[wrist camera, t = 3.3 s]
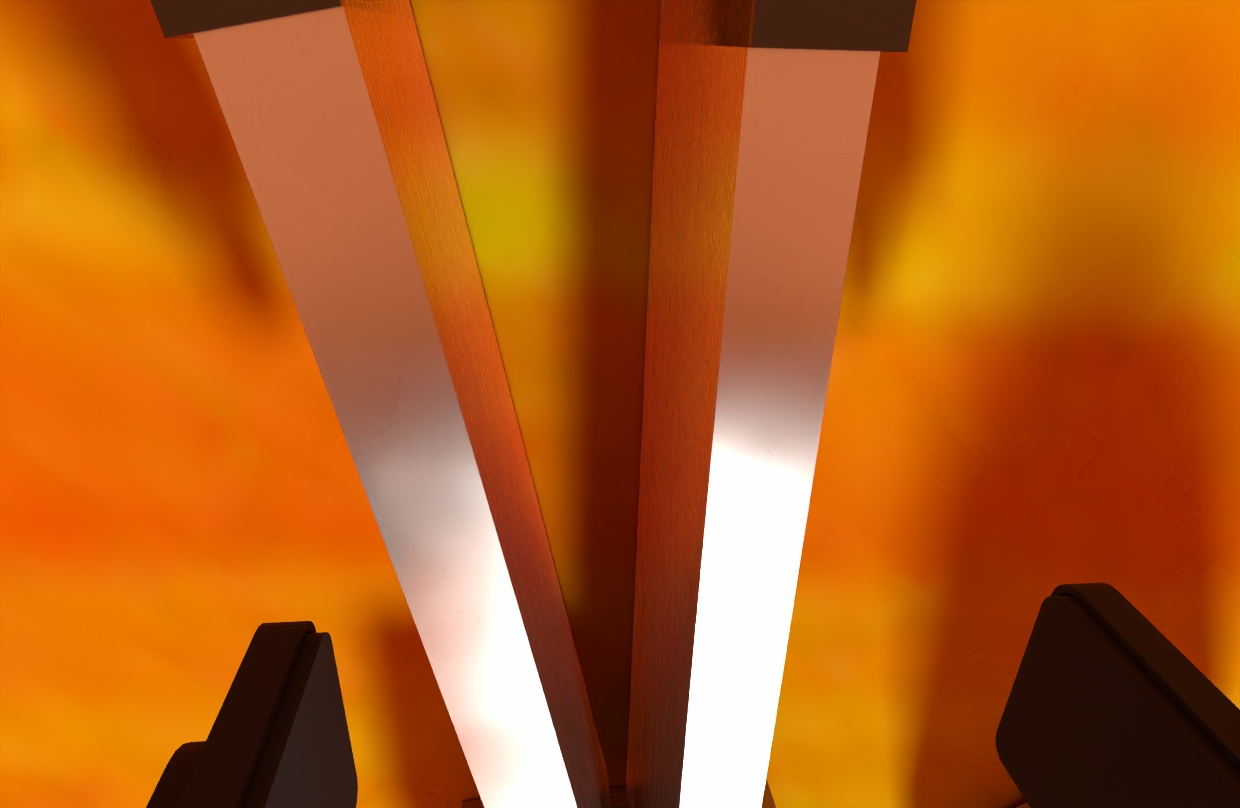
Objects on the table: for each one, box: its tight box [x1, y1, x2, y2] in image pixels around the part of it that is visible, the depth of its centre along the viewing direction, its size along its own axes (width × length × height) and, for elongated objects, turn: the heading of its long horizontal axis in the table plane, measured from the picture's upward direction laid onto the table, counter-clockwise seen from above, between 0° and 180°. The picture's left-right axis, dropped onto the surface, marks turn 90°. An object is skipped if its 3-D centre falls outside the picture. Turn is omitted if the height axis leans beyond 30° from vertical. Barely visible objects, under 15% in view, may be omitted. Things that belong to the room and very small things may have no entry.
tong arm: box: [151, 0, 611, 808], centre depth 11 cm, size 19×1×5 cm, turn 9°
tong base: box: [462, 0, 916, 808], centre depth 12 cm, size 24×7×6 cm, turn 178°
